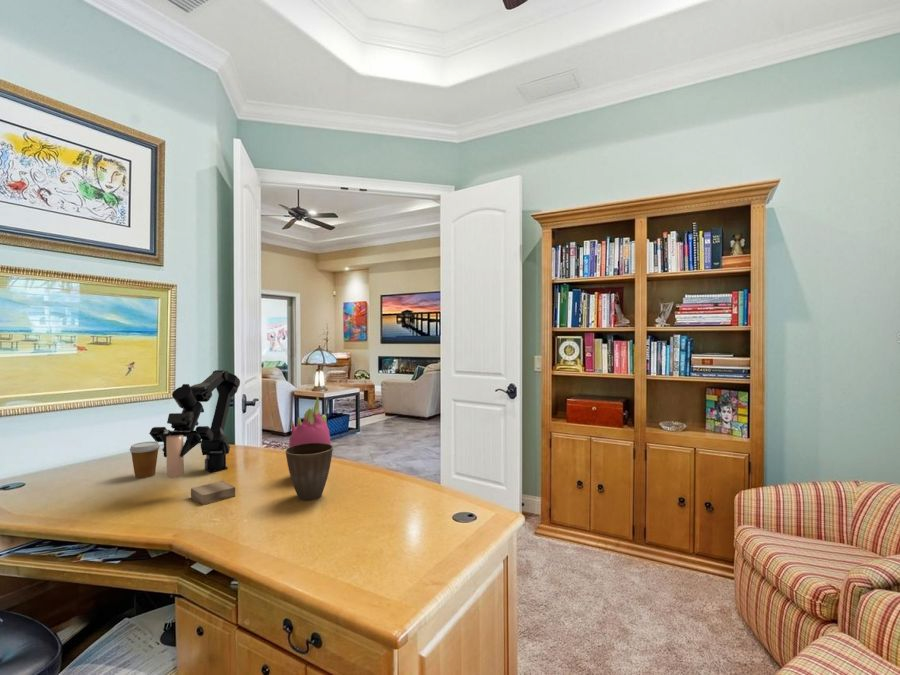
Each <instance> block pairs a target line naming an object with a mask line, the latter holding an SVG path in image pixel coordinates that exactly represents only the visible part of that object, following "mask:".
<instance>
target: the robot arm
mask: <svg viewBox="0 0 900 675" xmlns="http://www.w3.org/2000/svg"><path fill="white" fill-rule="evenodd" d="M240 385H241V380H240V378H239V377H238V376H237V375H236V374H233V373H230V372H229V371H228V370H225V369H217V370H216V369H215V370H213V371H212V372H211V374H210V375H209V376H207V377H206V378H205V379H204V380H203V381H202V382H200V383H195V384H193V385H190V384H188V383H183V384H182V385H181V386H179V387H177V388H175V389H174V390H173V391H172V393H171V396H172V398H173V400H174V401H175V403H176V404H177V406H178V407H179V409H182V411H181V412H176V413H175V412H174V413H173V412H172V413H168V418H167V421H166V424H170V426H171V427H170V428H172V429H173V430H170V429H167V428H166V426H154V427H152V428H151V429H150V431H149V433H148V434H149V435H150V436H151V437H152V439H153V440H154V442H158V443H163V457H164V458H167V453H166V437H167V436H170V435H178V434H180V435H183V438H184V437H185V442H184V443H183V449H182V451H181V454H180V456H181V457H183V456H185V455H187V454H188V453H189V452H190V451H191V450H192V449H193V448H195V447H196V446H197V445H199V444H200V449H201V454H202V456H205V459H204V470H205V471H206V472H209V473H213V472H218V471H219V472H220V471H223V470H228V468H229V467H227V458H226V456H227V455H228V454H230V448H231V446H230V444H229V443H228V441H227V436H226V433H225V425H226V422H227V419H228V414H229V410H230V406H231V399H232V397H233V396H234V395H235V394H237V392H238V389H239V387H240ZM214 390H216V391H217V393H218V397H217V401H216V405H215V408H214V409H215V410H214V414H213V418H212V421H211V425H210V427H209V425H203V426H202V425H200V426H199V418H200V415H201V414H202V413H205V409H204V406H203V405H202V403H208V402H209V401H210V400H211V398H213V391H214Z"/></svg>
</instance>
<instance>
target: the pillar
mask: <svg viewBox="0 0 900 675" xmlns="http://www.w3.org/2000/svg"><path fill="white" fill-rule="evenodd" d="M183 446H184V437H183V435H180V434H178V435H170V436H167V437H166V453H167V457H166V477H167V478H178V477H182V476H184V474H185V467H184V466H185V463H184V462H185V460H184V458H185V457H184V456H185V455H184V456H183V457H181V456H180V454H181V451H182V449H183Z"/></svg>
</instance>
